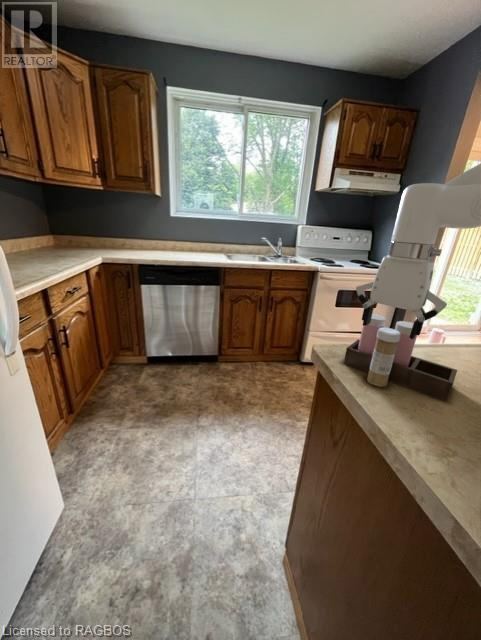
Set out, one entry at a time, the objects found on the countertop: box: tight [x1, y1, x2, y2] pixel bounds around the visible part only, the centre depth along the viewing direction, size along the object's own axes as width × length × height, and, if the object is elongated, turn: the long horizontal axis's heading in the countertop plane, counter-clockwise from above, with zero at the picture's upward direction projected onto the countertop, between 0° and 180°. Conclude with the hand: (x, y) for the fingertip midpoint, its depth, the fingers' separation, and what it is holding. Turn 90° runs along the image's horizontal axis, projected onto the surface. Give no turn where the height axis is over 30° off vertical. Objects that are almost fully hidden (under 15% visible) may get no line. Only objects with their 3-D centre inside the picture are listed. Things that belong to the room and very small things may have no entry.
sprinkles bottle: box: [366, 327, 401, 388], centre depth 63 cm, size 5×5×13 cm
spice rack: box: [343, 338, 458, 402], centre depth 68 cm, size 23×8×5 cm, turn 47°
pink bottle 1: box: [358, 313, 387, 355], centre depth 71 cm, size 5×5×13 cm
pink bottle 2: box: [393, 320, 418, 367], centre depth 67 cm, size 5×5×13 cm
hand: (388, 330), depth 60 cm, fingers open, 9 cm apart
